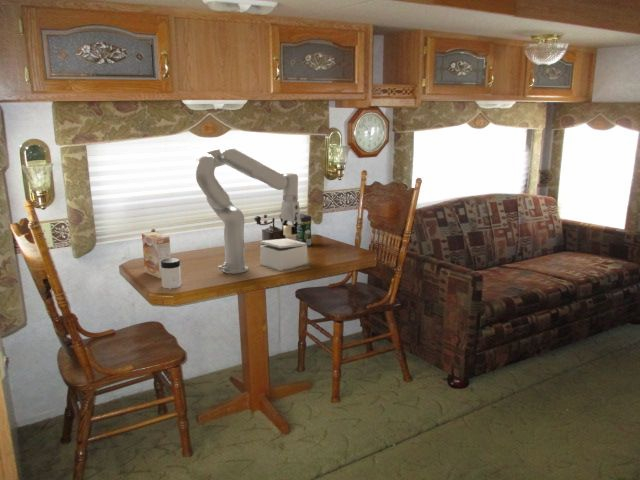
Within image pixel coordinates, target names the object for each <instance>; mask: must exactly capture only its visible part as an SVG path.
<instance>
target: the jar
mask: <svg viewBox="0 0 640 480" xmlns="http://www.w3.org/2000/svg"><path fill="white" fill-rule="evenodd" d="M181 272H182V268H181V261H180V258H174V257H171V258H169V259H164V260H162V261H161V277H162V278H161V287H163V289H167V288H169V289H168V290H172V288H173V289H178V288H181V286H182V273H181Z"/></svg>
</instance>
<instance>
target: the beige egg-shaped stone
mask: <svg viewBox="0 0 640 480" xmlns="http://www.w3.org/2000/svg"><path fill="white" fill-rule="evenodd" d="M292 227H293V226H292V224H288V225H284V228H283V235H285V237H291V236H292V237H294V236H295V237H296V234H294V235H292Z"/></svg>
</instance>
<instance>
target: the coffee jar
mask: <svg viewBox="0 0 640 480" xmlns="http://www.w3.org/2000/svg"><path fill="white" fill-rule="evenodd" d="M300 219H301V222H300V223H299V225H298V226H297V234H296V235H295V240H296V241H301V242H305V243H308V245H307V247H310V246H311V245H312V227H311V226H312V216H310V215H308V214H304V213H300Z"/></svg>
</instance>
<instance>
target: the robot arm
mask: <svg viewBox="0 0 640 480" xmlns="http://www.w3.org/2000/svg"><path fill="white" fill-rule="evenodd" d="M194 164H195V166H196V170H195V178H196V179H195V180H196V182H197V184H198V187H199V188H200V190H201V191H202V193H203V194H204V195H205V197H206V201H207V203H208V205H209V206H210V208H212V210H213V212H214V213H215V214H216V215H217V216H218V217H217V218H219V219H220V221H222V223H224V226H223V227H224V229H223V230H224V231H223V240H224V242H223V243H224V262H223V264H222V265H217V266H216V269H217V270H218V271H219V270H222V272H223V273H226V274H229V275H230V274H231V275H232V274H237V275H238V274H243V273H246V272H247V271H249V267H248V266H247V265H246V262H245V261H246V259H245V257H246V256H245V236H244V235H245V234H244V233H245V232H244V229H245V216H244V213H243V212H242V211H241V209H239V208H237V207H236V206H235V205H234V203H233V202H232V201H231V199H230V196H229V194H228V193H227V191H225V190H224V188H223V186H222V185H221V184H220V182H219V181H218V179H217V178H216V176H215V169H216V168H219V167H221V166H224V165H226V166H228V167H230V168H232V169H234V170H236V171H238V172H240V173H241V174H244V175H245V176H247V177H249V178H252V179H255V180H258V181H260V182H262V183H264V184H266V185H268V187H270V188H273V189H275V190H277V191H282V200H281V207H280V214H279V216H278V218H279V219H280V222H281V225H282V226H281V227H282V228H281V229H282V232H283V228H284V225H289V224H288V222H291V225H292V226H293V227H292V235H294V234H297V226H298V225H299V223H300V222H301V219H300V214H301V211H300V208H301V207H300V201H299V200H298V199H299V198H298V196H299V195H298V193H299V191H298V190H299V176H298V174H296V173H292V172H291V173H280V172H278V171H276V170H275V169H272V168H271V167H268V166H266V165H264V164H263V163H261V162H260V161H258V160H256V159H254V158H253V157H250V156H248V155H247V154H245V153H244V152H242V151H239V150H238V149H236V148H233V147H230V146H223V147H219V148H215V149H211V150H208V151H204V152H201V153H199V154H198V155H196V156H195V159H194Z"/></svg>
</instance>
